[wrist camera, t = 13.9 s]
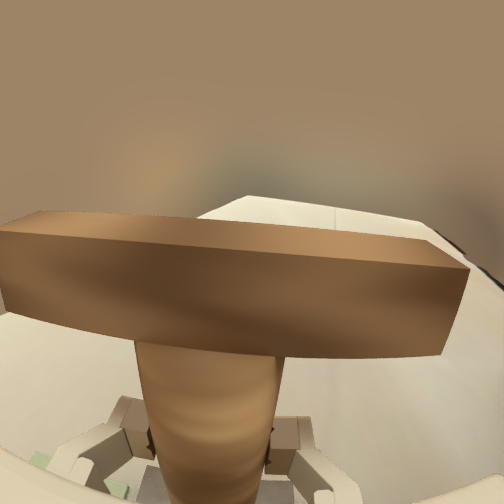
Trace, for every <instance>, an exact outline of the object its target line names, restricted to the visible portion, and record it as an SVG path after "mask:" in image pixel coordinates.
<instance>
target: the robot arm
mask: <svg viewBox="0 0 504 504" xmlns="http://www.w3.org/2000/svg"><path fill="white" fill-rule="evenodd" d="M155 455H156V451H155V447H154V443H153V439H152V435H151V430H150V426H149V422H148V417H147V412H146V408H145V403H144V400H140V399H136V398H131V397H127V396H123V395H122V396H121V397H120V398H119V400H118V402H117V404H116V406H115V408H114V410H113V412H112V414H111V416H110V418H109V420H108V422H107V424H104V423H103V424H101V425H99V426H97V427H95V428H93V429H92V430H90V431H88V432H86V433H84V434H82V435H80V436H78V437H77V438H75V439H73V440H71V441H69V442H67V443H65V444H63V445H61V446H59V447H58V448H57V450H56V452H55V454H54V455H53V457H52V459H51V461H50V463H49V464H48V466H47V468H46V470H45V469H43V468H41V467H39V466H37V465H35V464H33V463H31V462H29V461H27V460H25V459H23V458H21V457H20V456H18V455H16V454H14V453H12V452H10V451H9V450H7V449H5V448H3V447H2V446H0V504H141V503H138V502H134V501H130V500H126V499H123V498H119V497H116V496H113V495H111V492H110V491H109V489H108V487H107V486H106V484H105V482H104V481H103V480H104V479H106V478H107V477H108V476H110V475H111V474H112V473H114V472H115V471H116V470H118V469H119V468H120V467H121V466H123V465H124V464H125V463H126V462H128V461H129V460H130V459H131V458H133V456H134V457H139V458H143V459H148V460H153V461H154V459H155ZM265 474H270V475H287V476H288V478H289V479H290V480H291V482H292V483H293V484H294V486H295V487H296V488H297V490H298V491H299V492H300V493H301V495H302V496H303V497H304V498H305V500H306V501H307V502H308V504H363V502H362V498H361V493H360V489H359V486H358V485H357V484H356V483H355V482H354V481H353V480H352V479H351V478H349V477H348V476H347V475H346V474H345V473H344V472H343V471H342V470H341V469H340V468H339V467H338V466H336V465H335V464H334V463H333V462H332V461H331V460H330V459H329V458H328V457H327V456H326V455H325V454H324V453H323V452H322V451H321V450H320V449H316V448H315V442H314V435H313V429H312V423H311V418H310V417H309V416H274V420H273V425H272V430H271V435H270V439H269V444H268V449H267V454H266V458H265ZM411 504H504V476H502V475H500V474H495V475H491V476H489V477H486V478H484V479H482V480H480V481H477V482H475V483H472V484H470V485H467V486H464V487H462V488H459V489H456V490H453V491H451V492H448V493H445V494H442V495H439V496H435V497H432V498H429V499H425V500H422V501H418V502H414V503H411Z"/></svg>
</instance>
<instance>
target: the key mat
mask: <svg viewBox="0 0 504 504" xmlns="http://www.w3.org/2000/svg"><path fill="white" fill-rule="evenodd" d="M51 459H52V458H51V457H48V456H46V455H44V454H42V453H40V452H38V451H35V453H34V455H33V456H32V458H31V460H30V461H29V462H31V463H33V464H35V465H37V466H39V467H41V468H43V469H45V470H46V468H47V466H48V464H49V463H50V461H51ZM103 481H104V482H105V484H106V486H107V487H108V489H109V491H110V492H111V495H113V496H116V497H119V498H123V499H126V496H127V493H128V490H129V486H128V485H126V484H123V483H119V482H116V481H113V480H109V479H104V480H103Z"/></svg>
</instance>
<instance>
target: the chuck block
mask: <svg viewBox="0 0 504 504" xmlns="http://www.w3.org/2000/svg"><path fill="white" fill-rule="evenodd" d="M136 502H138V503H141V504H171V502H170V499H169V496H168V492H167V489H166V486H165V483H164V479H163V476H162V473H161V469H160V468H158V467H153V466H149V465H147V467H146V470H145V473H144V477H143V480H142V483H141V486H140V490H139V493H138V496H137V499H136ZM255 504H294V492H293V483H292V482H291V481H266V480H261V481H260V485H259V489H258V494H257V498H256V502H255Z"/></svg>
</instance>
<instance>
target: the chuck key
mask: <svg viewBox="0 0 504 504" xmlns="http://www.w3.org/2000/svg"><path fill="white" fill-rule="evenodd" d="M469 273H470V268H468V267H467V266H465V265H464V264H462V263H461V262H459V261H458V260H456V259H455V258H453V257H452V256H450V255H448V254H447V253H445V252H444V251H442V250H441V249H439V248H438V247H436V246H434V245H433V244H431V243H429V242H428V241H426V240H419V239H411V238H403V237H394V236H385V235H376V234H367V233H358V232H348V231H338V230H328V229H318V228H308V227H297V226H286V225H274V224H262V223H250V222H238V221H225V220H211V219H197V218H181V217H166V216H149V215H132V214H112V213H89V212H65V211H38V212H35V213H32V214H29V215H27V216H24V217H22V218H19V219H16V220H14V221H11V222H8V223H6V224H3V225H1V226H0V288H1V293H2V297H3V301H4V305H5V309H6V311H8V312H12V313H15V314H19V315H22V316H26V317H29V318H33V319H37V320H41V321H44V322H48V323H52V324H56V325H61V326H65V327H69V328H73V329H78V330H82V331H87V332H92V333H97V334H102V335H107V336H112V337H117V338H123V339H128V340H134V345H135V352H136V358H137V364H138V370H139V376H140V382H141V387H142V393H143V398H144V403H145V408H146V412H147V417H148V422H149V426H150V430H151V435H152V439H153V443H154V447H155V451H156V454H157V458H158V462H159V465H160V469H161V473H162V476H163V479H164V483H165V486H166V489H167V492H168V496H169V499H170V502H171V504H255V502H256V498H257V494H258V489H259V485H260V481H261V476H262V472H263V468H264V463H265V458H266V454H267V449H268V444H269V439H270V435H271V430H272V425H273V420H274V415H275V410H276V405H277V400H278V394H279V389H280V384H281V378H282V372H283V367H284V361H285V357H295V358H329V359H368V358H401V357H420V356H434V355H441V353H442V351H443V348H444V346H445V343H446V341H447V338H448V336H449V333H450V331H451V328H452V325H453V323H454V320H455V317H456V314H457V311H458V308H459V305H460V302H461V299H462V296H463V293H464V290H465V287H466V283H467V280H468V276H469Z"/></svg>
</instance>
